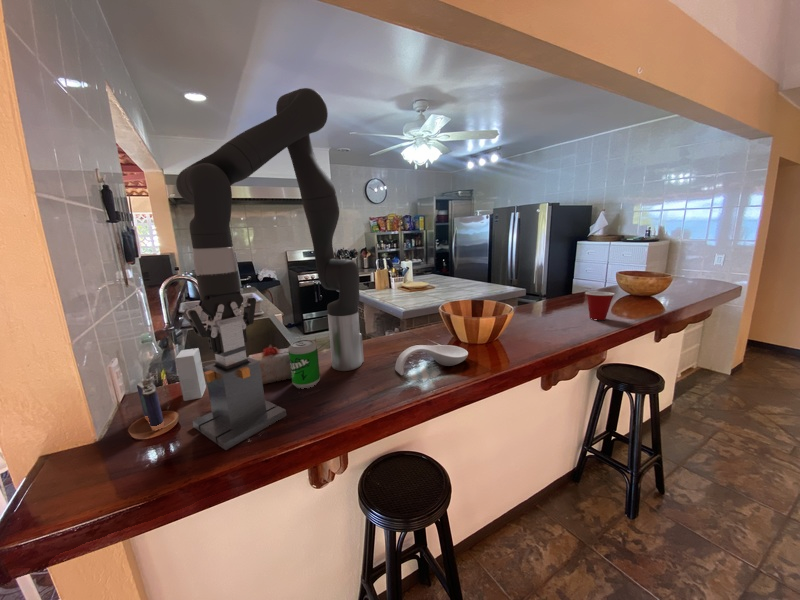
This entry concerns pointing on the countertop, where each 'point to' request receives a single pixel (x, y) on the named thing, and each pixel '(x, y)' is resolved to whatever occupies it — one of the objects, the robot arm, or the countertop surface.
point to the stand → (236, 405)
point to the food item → (273, 364)
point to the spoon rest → (433, 355)
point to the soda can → (304, 363)
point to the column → (230, 343)
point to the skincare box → (190, 374)
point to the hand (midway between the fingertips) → (229, 348)
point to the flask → (150, 402)
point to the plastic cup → (599, 304)
